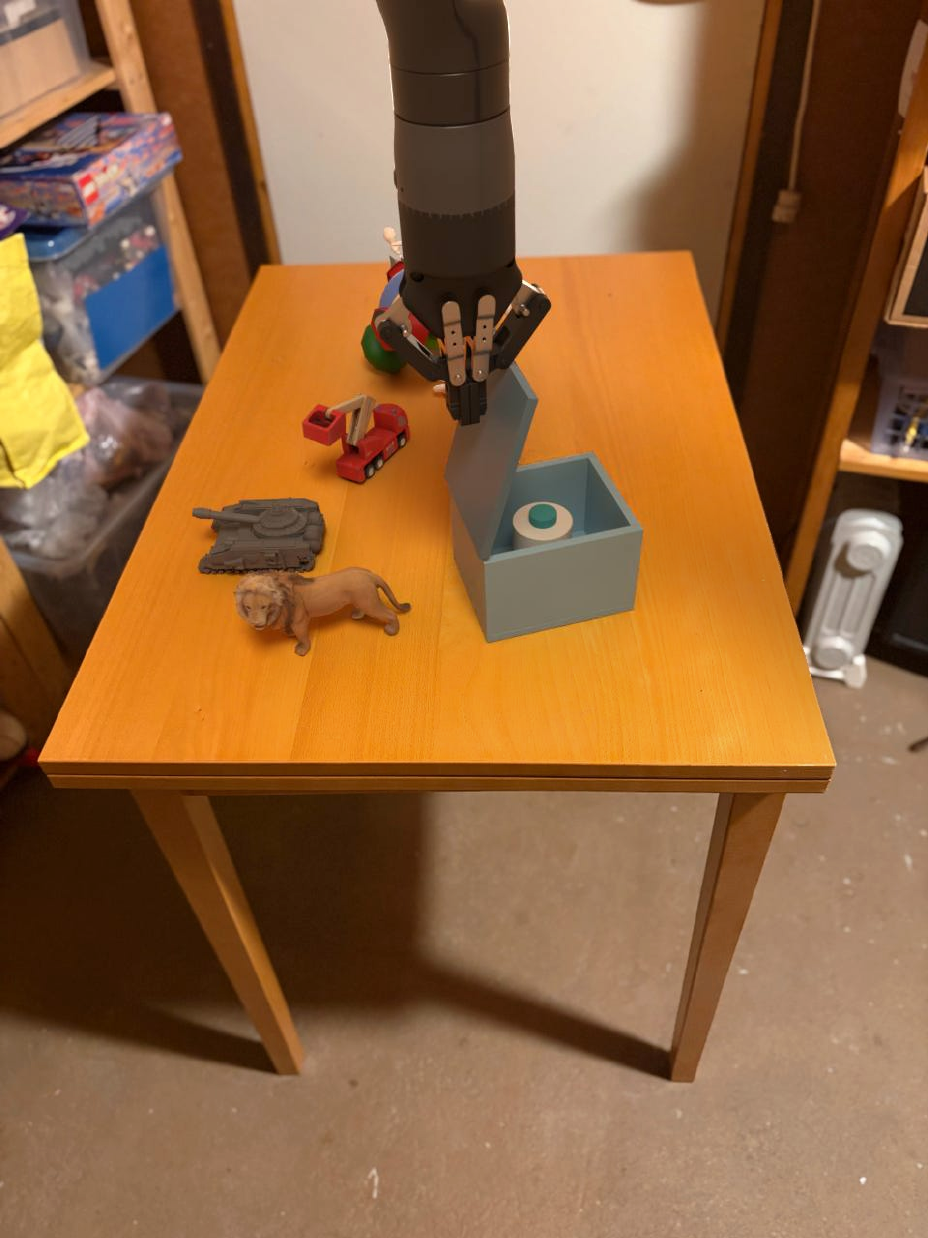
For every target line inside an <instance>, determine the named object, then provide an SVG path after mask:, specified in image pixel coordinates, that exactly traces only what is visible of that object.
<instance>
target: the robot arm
mask: <svg viewBox="0 0 928 1238" xmlns="http://www.w3.org/2000/svg"><path fill="white" fill-rule="evenodd" d="M375 3H376V5H377V6H376V7H377V9H378V12H379V15H380V19H381V21H382V24H383V28H384V31H385V36H386V39H387V49H388V50H387V51H388V65H389V77H390V87H391V88H390V89H391V98H392V109H393V143H392V145H393V146H392V147H393V149H392V150H393V153H392V154H393V167H394V169H393V184H394V186H395V189H396V194H397V195H396V196H397V197H396V198H397V207H398V217H399V218H398V219H399V224H400V225H399V227H400V228H399V230H400V239H401V240H400V241H402V246H401V250H402V258H403V262H404V273H403V277H402V280H401V282H400V284H399V296H400V297H399V298H398V299H397V300H396V301H395V302H394V303H393V304H392V305H391V306H390V307H389V308H388V309H387V310H383V309H380V310H377V311H376V312H375V313H374V312H373V313H374V314H372V317H371V320H372V319H373V322H374V324H375V327H376V329H377V331H378V334H379V336H380V338H381V339H382V340H383V341H384V342H385V343H386V344H387V345H388V346H389V347H390V348H392V349H393V350H394V351H395V352H396V353H397V354H398V355H399V356H401V357H402V358H403V359H404V360H405V361H406V362H407V364H408V365H409V366H410V367H412V368H413V369H414V370H415V371H416V372H417V373H418V374H419V375H421V376H422V377H423V378H424V379H425V380H426V381H427V382H429V383H436V382H438V381H439V380H441V381H440V382H442V381H445V382H444V384H445V394H444V395H445V405H446V408H447V410H448V413H449V414H450V417H451V419H452V421H458V422H459V424H460V426H461V427H462V426H467V425H472V424H477V423H480V416H481V415H485V413H486V410H487V390H486V379H487V377H488V375H489V374H490V373H491V372H492V371H494V370H496V369H500V370H505V369H507V368H508V367H509V366H510V365H511V364H512V362H513V361H514V360H515V359H516V358H517V357H518V355H519V354H520V353H521V351H522V350H523V348H524V347H525V346H526V344H527V343H528V341H529V340H530V339H531V338H532V335H534V333H535V332H536V330H537V329H538V327H539V326H540V324H541V323H542V322H543V320H545V317H546V316H547V315H548V314H549V312H550V311H551V308H552V301H551V300H550V299H549V298H548V297H549V296H547V294H546V292H545V291H544V290H543V289H542V288H541V287H540V285H538V284H537V283H528V282H527V281H526V280H524V279H523V273H522V271H521V269H520V267H519V265H518V264H517V261H516V255H517V254H516V253H517V252H516V251H517V250H516V249H517V248H516V247H517V245H516V243H517V242H516V241H517V239H516V237H517V236H516V233H517V232H516V147H515V145H516V144H515V136H514V135H515V134H514V127H513V120H512V109H511V35H510V21H509V19H510V18H509V13H508V9H507V7H506V4H505V1H504V0H375ZM510 304H511V306H512V309H511V310H510V312H509V313H508V315H505V318H504V319H503V317H504V313H505V312H506V310H507V309H508V307H509V306H510ZM410 313H411V314H412V315H413V316H414V317H415V318H416V319H417V320H418V321H419V322H420V323H421V324H422V325H423V326H424V327H425V328H426V329H427V330H428V331H429V332H430V333H431V334H432V335H433V336H434V337H436V338H437V340H438V343H439V348H440V355H441V356H437V355H433V354H432V353H431V352H430V351H429V350H428V349H427V348H426V347H425V346H424V345H423V344H421V343H420V342H419V341H418V340H417V339H416V338H415V337H414V336H413V335H412V334H411V332H412V325H411V323H410V321H409V319H408V317H409V314H410ZM502 319H503V320H502ZM501 320H502V322H501ZM499 322H501V323H500V324H499ZM498 324H499V326H498ZM497 326H498V327H497ZM496 327H497V329H496ZM493 328H495V329H496V330H497V331H496V332H495V334H494V335H493ZM463 338H464V345H463ZM515 361H516V360H515Z"/></svg>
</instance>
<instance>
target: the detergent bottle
mask: <svg viewBox="0 0 928 1238" xmlns="http://www.w3.org/2000/svg"><path fill="white" fill-rule="evenodd" d="M572 528H573V519H572V516H571V514H570V513H569V511H568V510H566V509H565V508H564V507H562V506H560V505H558V504H554V503H550V502H536V503H531V504H528V505H525V506H523V507H522V508H520V509H519V510H518V511H517V512H516V513H515V515H514V517H513V551H515V550H519V549H524V548H529V547H533V546H538V545H543V544H547V543H552V542H557V541H561V540H566V539H571V538H572Z"/></svg>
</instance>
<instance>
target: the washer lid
mask: <svg viewBox="0 0 928 1238" xmlns="http://www.w3.org/2000/svg"><path fill="white" fill-rule="evenodd" d="M496 331H497V329H496V327H495V328H493V335H494V334H495V332H496ZM486 390H487V410H486V413H485V415H481V416H480V423H477V424H472V425H467V426H462V427H461V426H460V424H459V422H458V420H456V421H457V422H456V424H455V425H456V426H455V430H454V433H453V437H452V441H451V445H450V450H449V452H448V456H447V461H446V465H445V469H444V473H443V478H444V480H445V482H446V484H447V486H448V490H449V489H450V491H451V494H452V496H453V498H454V501H455V503H456V505H457V508H458V510H459V512H460V515H461V517H462V519H463V522H464V524H465V526H466V529H467V531H468V533H469V535H470V538H471V540H472V542H473V545H474V547H475V549H476V552H477V554H478V556H479V559H489V557H490V553H491V550H492V547H493V544H494V541H495V537H496V534H497V531H498V528H499V525H500V521H501V518H502V515H503V512H504V509H505V505H506V502H507V499H508V496H509V493H510V489H511V486H512V483H513V480H514V477H515V473H516V470H517V467H518V466H519V464H520V460H521V457H522V454H523V451H524V447H525V444H526V442H527V438H528V435H529V431H530V429H531V425H532V423H533V418H534V416H535V412H536V409H537V405H538V403H539V397H538V396H537V394H536V392H535V390H534V389H533V388H532V386H531V384H530V383H529V381H528V379H527V377H526V376H525V375H524V373H523V371H522V369H521V368H520V366H519V365H518V363H517V362H516V360H514V361H513V362H512V364H511V365H510V366H509V367H508V368H507V369H505V370H500V369H496V370H494V371H492V372H491V373H490V374H489V375H488V377H487V379H486Z"/></svg>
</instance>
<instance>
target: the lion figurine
mask: <svg viewBox="0 0 928 1238" xmlns="http://www.w3.org/2000/svg"><path fill="white" fill-rule="evenodd" d="M379 588H380V589H381V591H382V592H383V593H384V594H385V596H386V597H387V599H388V601H389V602H390V604H391V605H392V606H393V608H395V609H396V610H398V611H401V612H407V611H408V610H410V609H411V607H412V605H411V604H410V602H404V603H399V602H398V600H397V598H396V596H395V594H394V592H393V591H392V589H391V587H390V586H389V584H388V583H387V582H386V581H385V580H384V579H383V577H382V576H380V575H379V574H377V573H375V572H372V570H370V569H369V568H364V567H360V566H349V567H346V568H343V569H340V570H338V571H334V572H332V573H328V574H324V575H317V576H310V577H305V576H303V575H301V574H300V573H298V572H297V573H296V572H295V573H290V572H288V571H286V572H284V571H282V570H279V572H278V571H273V570H269V571H267V570H262V571H255V572H252V573H250V572H249V573H246V574H245V575H244V576H243V577H242V578H241V579H240V580H239V581H238V583H237V584H236V588H235V589H234V590H233V595H234V598H235V608H236V613H237V615H238V616H240V618H241V619H242V620H243V621H246V622H248V624H249V625H250V626H253V627H254V629H255V630H256V631H262V630H264V629H265V627H268V628H270V629H271V630H281V629H283V628H284V630H283V633H284V635H285V636H286V637H287V638H288V637H290V638H291V637H294V636H295V637H296V639H297V640H298V642H299V643H297V644H296V645H295V647H294V650H293V651H294V653H295V654H296V655H298V656H301V657H302V656H305V655H307V654H308V653H309V651H310V649H311V638H310V636H309V626H310V622H311V620H310V618H316V617H317V618H318V617H323V616H327V615H331V614H333V613H336V612H339V611H340V610H341V609H343V608H344V607H346V605H348V604H352V605H353V606H355V608H353V609H351V611H350V617H351V618H352V619H353V620H354V619H355V620H359V619H360V620H361V619H363V618H364V616H365V615H367V616H369V617H371V618H375V619H378V620H380V621H385V622H388V623H386V624H385V626H384V628H383V631H384V632H385V633H386V634H387V635H389V636H393V635H396V634H398V632H399V630H400V622H399V619H398V616H397V613H396V612H395V610H393V609H391V608H388V607H387V606H386V605H385V604H383V602H382V600H381V598H380V593H379Z"/></svg>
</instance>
